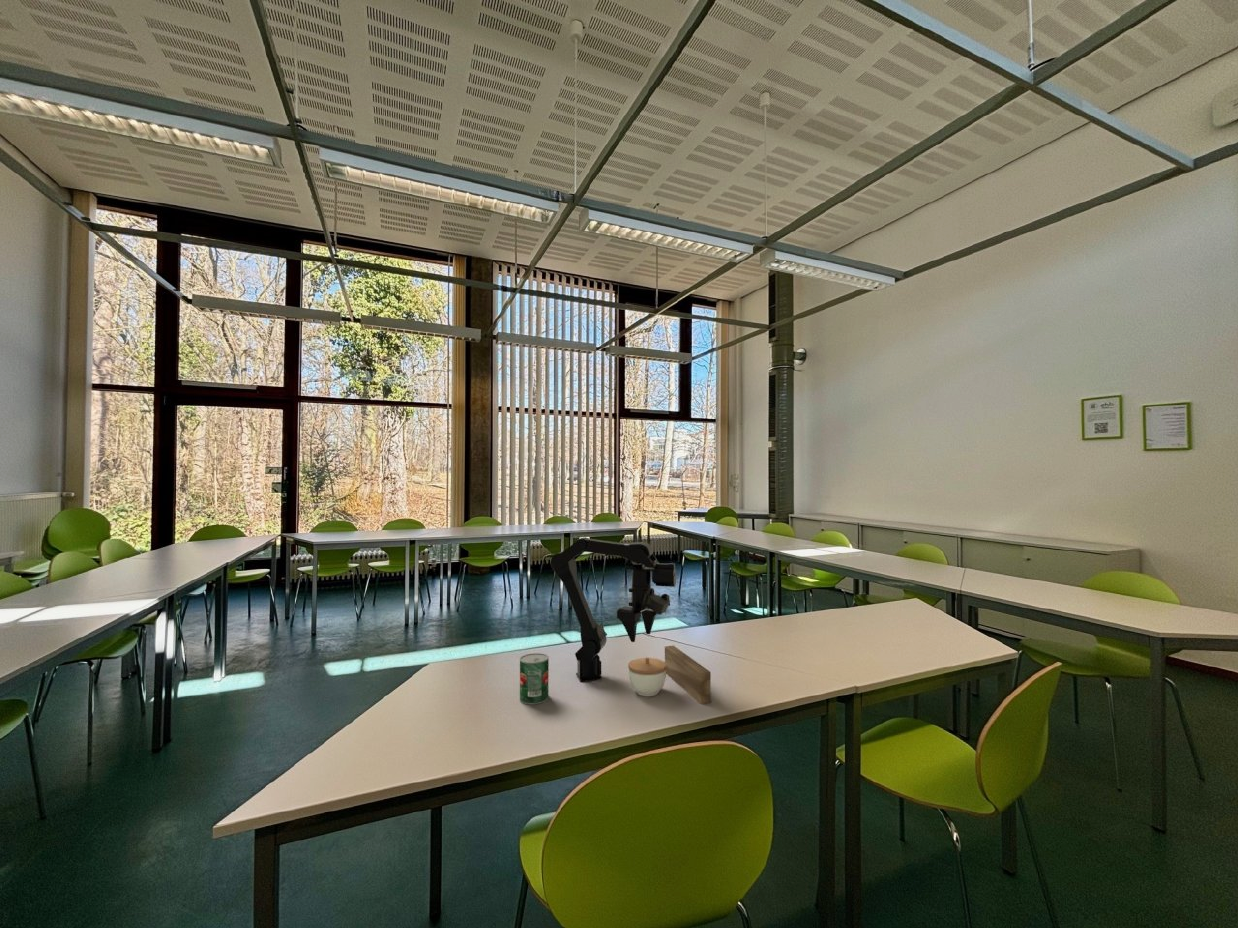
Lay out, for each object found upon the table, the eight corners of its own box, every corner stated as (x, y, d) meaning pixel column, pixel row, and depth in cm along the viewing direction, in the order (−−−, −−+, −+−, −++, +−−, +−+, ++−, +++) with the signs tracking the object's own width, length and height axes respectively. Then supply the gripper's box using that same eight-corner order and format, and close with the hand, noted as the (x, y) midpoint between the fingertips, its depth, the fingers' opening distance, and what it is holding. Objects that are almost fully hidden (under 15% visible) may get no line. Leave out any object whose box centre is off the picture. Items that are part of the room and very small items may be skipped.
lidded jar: (620, 691, 141) (620, 658, 142) (646, 681, 149) (646, 649, 149) (648, 703, 134) (648, 667, 134) (674, 691, 141) (674, 657, 142)
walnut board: (700, 703, 133) (700, 673, 134) (664, 672, 156) (664, 646, 156) (710, 702, 134) (710, 671, 134) (673, 671, 157) (673, 645, 157)
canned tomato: (514, 697, 138) (514, 656, 139) (540, 690, 143) (540, 651, 143) (527, 707, 132) (527, 664, 132) (554, 699, 137) (553, 658, 137)
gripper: (649, 593, 138) (649, 651, 137) (679, 583, 153) (678, 634, 153) (615, 588, 144) (615, 644, 143) (647, 579, 159) (646, 628, 159)
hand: (640, 637), depth 149 cm, fingers open, 9 cm apart
